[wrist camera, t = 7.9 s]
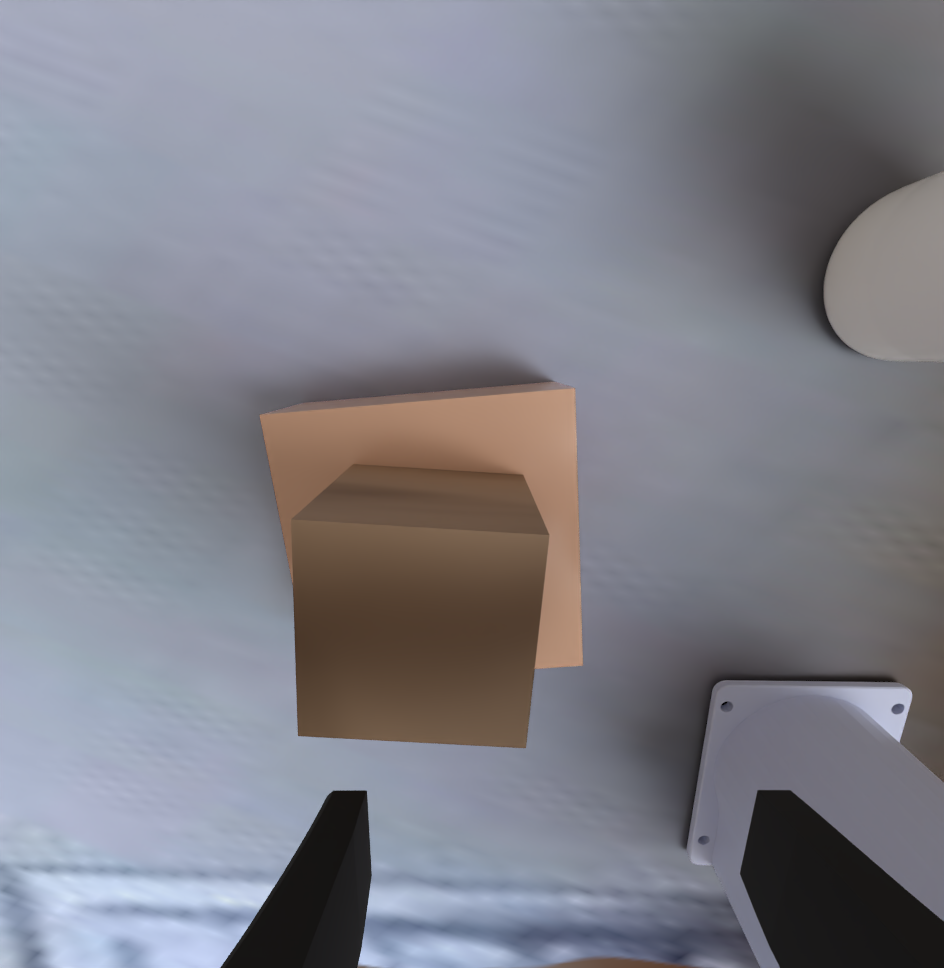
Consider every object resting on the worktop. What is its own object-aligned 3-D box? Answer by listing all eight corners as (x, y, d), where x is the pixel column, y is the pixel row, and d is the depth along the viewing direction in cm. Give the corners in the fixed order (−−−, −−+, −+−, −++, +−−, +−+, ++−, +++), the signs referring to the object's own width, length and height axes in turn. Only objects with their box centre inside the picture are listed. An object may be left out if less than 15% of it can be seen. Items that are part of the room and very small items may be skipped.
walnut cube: (508, 625, 15) (525, 748, 11) (352, 616, 15) (298, 735, 11) (523, 474, 14) (549, 534, 9) (353, 464, 14) (290, 519, 9)
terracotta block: (561, 604, 20) (582, 665, 16) (343, 620, 20) (312, 684, 16) (552, 381, 17) (575, 388, 14) (306, 401, 18) (259, 415, 14)
